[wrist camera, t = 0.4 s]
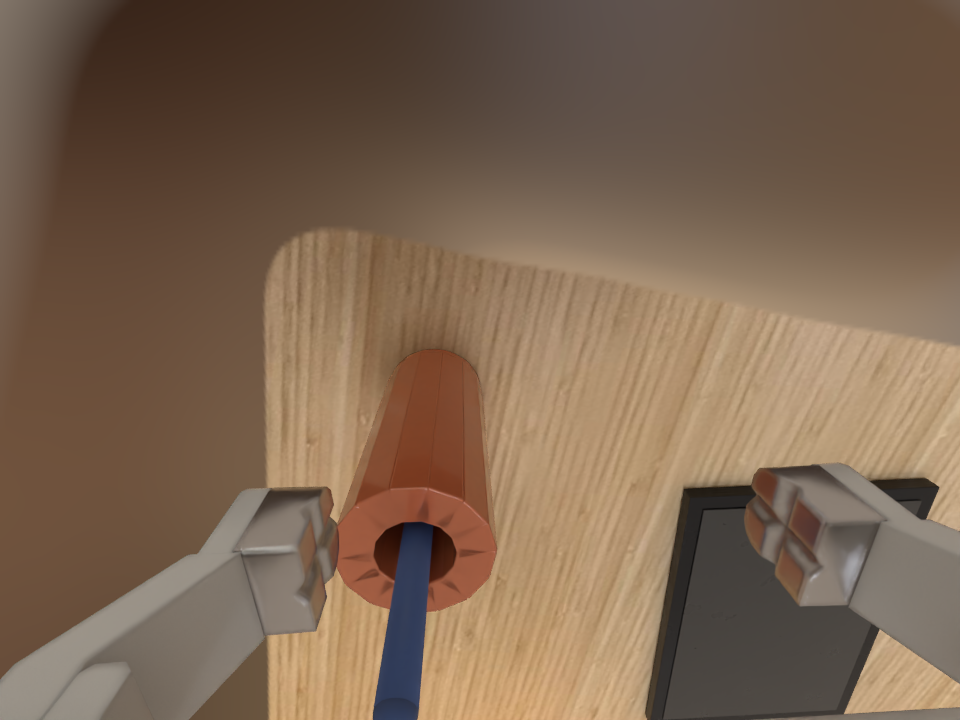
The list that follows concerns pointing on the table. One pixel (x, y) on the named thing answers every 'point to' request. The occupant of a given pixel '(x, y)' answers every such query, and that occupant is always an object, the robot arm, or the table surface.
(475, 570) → the holder
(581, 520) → the table surface
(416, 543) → the stylus
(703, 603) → the tablet
